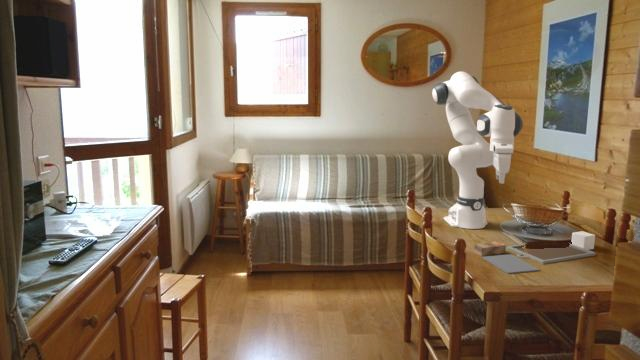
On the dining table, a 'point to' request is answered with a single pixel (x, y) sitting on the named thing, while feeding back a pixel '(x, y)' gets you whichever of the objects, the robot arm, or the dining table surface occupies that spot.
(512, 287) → the dining table surface
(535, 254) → the flat tray
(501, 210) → the dining table surface
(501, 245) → the tan rectangular block
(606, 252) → the dining table surface
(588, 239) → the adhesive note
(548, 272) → the dining table surface
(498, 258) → the rubber mat
